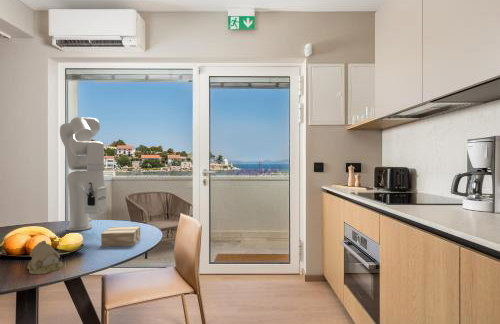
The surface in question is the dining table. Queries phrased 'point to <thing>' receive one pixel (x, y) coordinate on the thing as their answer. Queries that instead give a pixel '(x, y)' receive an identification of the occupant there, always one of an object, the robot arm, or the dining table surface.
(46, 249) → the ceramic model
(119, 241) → the maple riser block
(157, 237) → the dining table surface
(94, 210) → the supplement box
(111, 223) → the dining table surface
